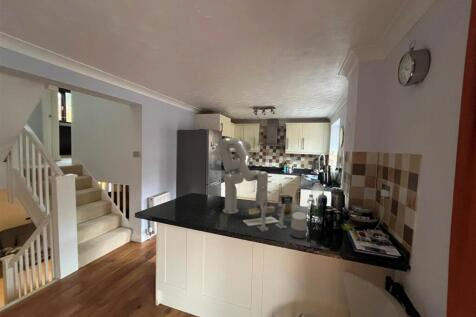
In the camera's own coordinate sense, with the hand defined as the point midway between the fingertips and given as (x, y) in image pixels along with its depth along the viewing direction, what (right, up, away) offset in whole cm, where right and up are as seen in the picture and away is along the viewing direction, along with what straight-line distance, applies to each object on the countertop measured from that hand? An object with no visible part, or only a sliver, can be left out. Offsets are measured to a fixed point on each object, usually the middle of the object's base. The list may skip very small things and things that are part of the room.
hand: (261, 214), depth 148 cm
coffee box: (+19, -6, +13) cm, 24 cm away
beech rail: (0, +1, 0) cm, 1 cm away
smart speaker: (+20, -8, -22) cm, 31 cm away
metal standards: (+6, -6, -10) cm, 13 cm away
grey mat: (0, -6, +1) cm, 6 cm away
